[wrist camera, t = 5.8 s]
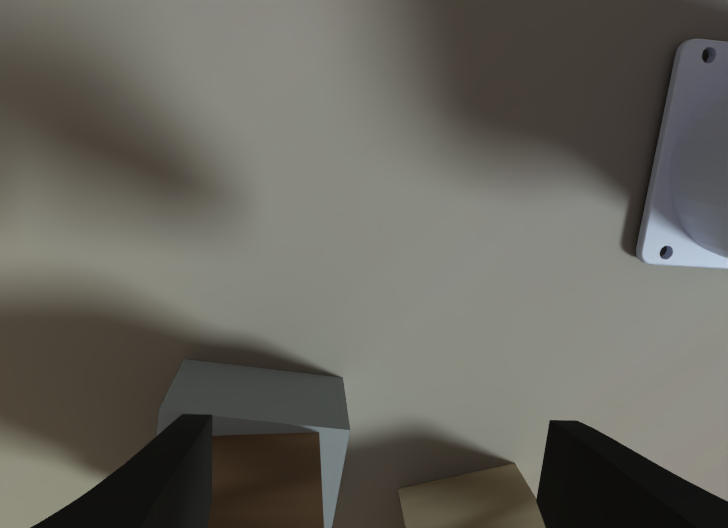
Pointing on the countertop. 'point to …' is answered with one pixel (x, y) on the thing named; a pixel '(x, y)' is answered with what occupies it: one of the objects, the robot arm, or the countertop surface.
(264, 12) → the countertop surface
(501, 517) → the maple cube
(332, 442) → the grey base block
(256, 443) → the walnut cube
